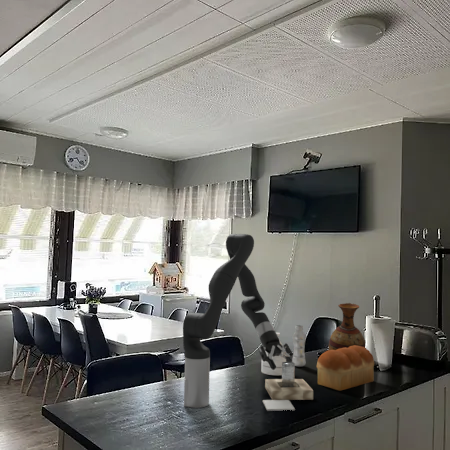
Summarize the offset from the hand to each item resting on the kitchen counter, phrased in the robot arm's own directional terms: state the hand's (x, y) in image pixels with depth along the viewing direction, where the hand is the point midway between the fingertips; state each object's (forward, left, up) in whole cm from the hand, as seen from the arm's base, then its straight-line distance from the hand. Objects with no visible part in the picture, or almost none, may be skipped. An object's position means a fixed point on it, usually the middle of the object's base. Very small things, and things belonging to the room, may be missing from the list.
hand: (283, 367), depth 188 cm
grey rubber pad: (-5, -18, -9) cm, 21 cm away
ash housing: (+1, -3, -9) cm, 10 cm away
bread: (+30, +12, -10) cm, 34 cm away
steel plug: (+1, -3, -9) cm, 10 cm away
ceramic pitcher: (+46, +56, -10) cm, 73 cm away
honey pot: (+2, +31, -10) cm, 32 cm away
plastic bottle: (+17, +41, -10) cm, 45 cm away
